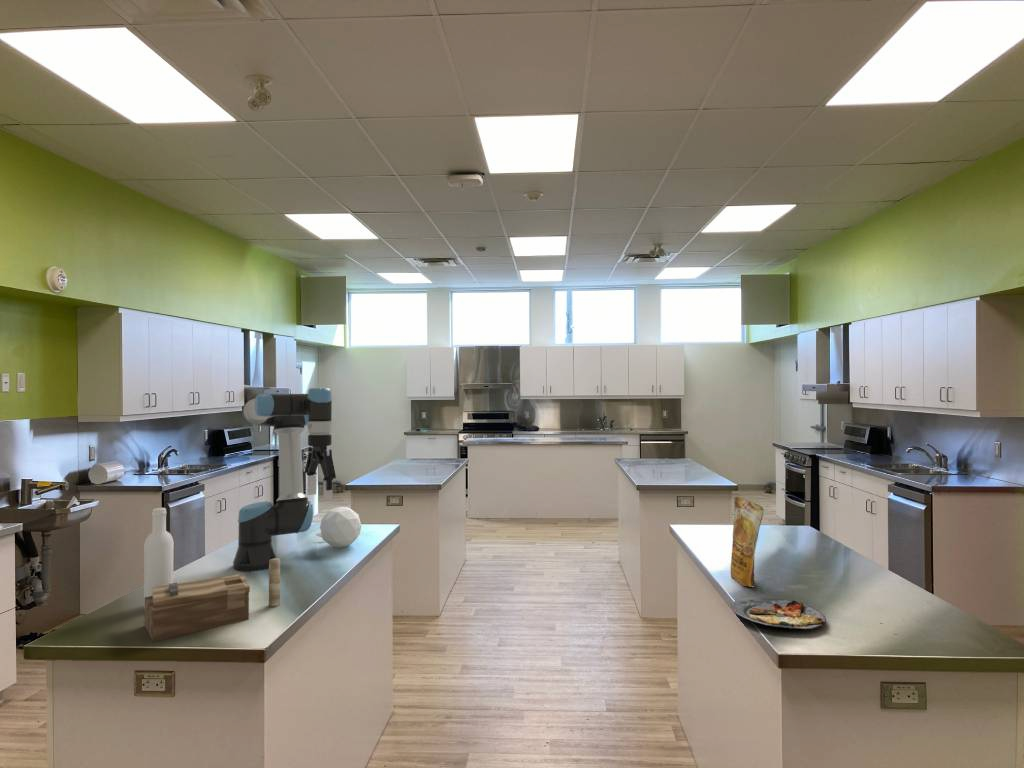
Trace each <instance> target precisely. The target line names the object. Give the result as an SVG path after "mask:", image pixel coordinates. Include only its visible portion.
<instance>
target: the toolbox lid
mask: <svg viewBox="0 0 1024 768" xmlns="http://www.w3.org/2000/svg"><path fill="white" fill-rule="evenodd" d="M250 589H251V588H250V585H249V582H248V580H247V579H246V577H245V575H244V574H243V573H241V574H240V573H239V574H233V575H226V576H220V577H214V578H207V579H200V580H194V581H193V580H192V581H187V582H181V583H178V582H173V583H171V584H169V585H166V586H159V587H153V608H155V607H161V606H167V605H173V604H179V603H185V602H191V601H197V600H203V599H209V598H215V597H221V596H227V595H233V594H239V593H245V592H249V593H250Z"/></svg>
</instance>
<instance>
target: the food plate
mask: <svg viewBox="0 0 1024 768" xmlns="http://www.w3.org/2000/svg"><path fill="white" fill-rule="evenodd" d="M761 604H764V606H766V605H767V604H772V608H773V610H774V611H773V610H768V609H758V608H752V607H755V606H762V605H761ZM781 606H784V607H781ZM731 607H732V610H733V611H734V613H735V614H736V615H738V616H740V617H742V618H744V619H746V620H749V621H751V622H752V623H756V624H757V623H758V624H761V625H763V626H764V625H765V626H771V627H775V628H785V629H788V628H789V629H790V630H792V629H801V630H814V629H815V630H816V629H818V628H821V627H823V626H825V624H826V623H827V618H826V616H825V614H823V613H822V612H821V611H819V610H818V609H815V608H813V607H811V606H809V605H806V604H804V602H801V601H800V602H798V601H796V600H792V601H790V600H787V599H786V600H785V599H780V598H779V599H778V598H773V597H772V598H770V597H755V596H753V597H752V596H751V597H745V598H744V597H743V598H741V599H737V600H734V601H733V602H732V604H731ZM750 608H752V609H751V610H749V615H748V613H747V611H748V609H750ZM777 613H780V614H782V615H783V616H790V617H777V616H756V615H776V614H777ZM802 613H804V614H807V615H803V616H802V617H801V614H802ZM796 626H797V627H796Z"/></svg>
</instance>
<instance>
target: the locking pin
mask: <svg viewBox="0 0 1024 768" xmlns="http://www.w3.org/2000/svg"><path fill="white" fill-rule="evenodd" d="M280 596H281V558H279V557H278V558H277V557H276V558H274V559H270V560H269V568H268V607H270V608H274V607H275V608H276V607H279V606H280V605H281V597H280Z"/></svg>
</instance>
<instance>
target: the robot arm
mask: <svg viewBox="0 0 1024 768" xmlns="http://www.w3.org/2000/svg"><path fill="white" fill-rule="evenodd" d="M332 396H333V395H332V390H331V388H329V387H311V388H308V393H259V394H257V395H256V396H255V398H252V399H250V400H248V401H246V403H245V404H244V405H243V408H242V415H243V418H244V419H245V420H246V422H248V423H250V424H251V425H255V426H259V427H265V428H267V427H273V432H274V433H276V435H277V438H278V439H277V440H278V466H279V469H278V470H279V493H280V494H279V497H278V498H277V499H276V504H273V503H272V501H268V500H267V501H258V502H254V503H250V504H247V505H244V506H242V507H241V508H240V509H239V511H238V517H237V518H238V519H237V522H238V536H237V537H238V538H237V539H238V545H237V546H238V547H237V549H236V553H235V556H234V559H233V562H232V568H233V570H235V571H238V572H256V571H262V570H265V569H269V560H270V559H274V558H277V555H276V553H275V550H274V547H273V543H272V538H273V536H274V537H275V536H282V535H289V534H290V535H291V534H299V533H305V532H307V531H309V529H310V528H311V526H312V523H313V519H314V507H313V506H314V505H313V502H312V501H309V498H308V496H311V495H312V496H313V495H317V469H318V468H319V467H318V466H319V465H320V468H321V471H322V475H323V479H322V481H323V498H322V499H323V501H324V502H325V501H332V500H333V480H335V479H336V478H337V475H336V471H335V465H334V460H333V453H332V449H331V448H330V449H329V448H328V446H332V434H331V433H332V431H333V430H332V429H333V427H332V425H333V423H332V421H333V420H332V412H333V411H332V407H333V406H332V400H333V397H332ZM305 426H306V427H307V433H308V435H307V445H308V446H309V447H308V449H307V451H308V453H307V458H306V461H305V462H306V463H305V466H304V467H305V469H304V473H305V474H306V476H307V495H306V494H305V493H304V478H303V456H302V454H303V453H302V452H303V451H302V435H301V434H302V433H303V432H304V430H305Z"/></svg>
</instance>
